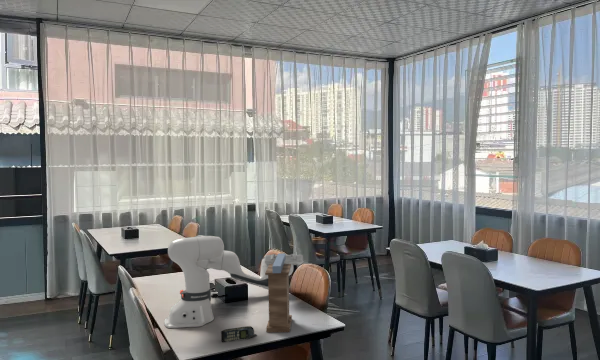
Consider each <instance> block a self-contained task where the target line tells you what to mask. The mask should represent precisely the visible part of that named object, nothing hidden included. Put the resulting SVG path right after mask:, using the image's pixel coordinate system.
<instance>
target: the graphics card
mask: <svg viewBox="0 0 600 360" xmlns="http://www.w3.org/2000/svg"><path fill="white" fill-rule="evenodd" d="M209 281H210V289H211V299H214V298H218V297H217V296H218V295H217V294H218V292H217V291H215V284H214V282H215V281H214V280H209Z"/></svg>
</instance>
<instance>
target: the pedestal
mask: <svg viewBox="0 0 600 360" xmlns="http://www.w3.org/2000/svg"><path fill="white" fill-rule="evenodd" d="M272 266H273V264H269V266H268V268H267V270H266V272H265V275H268V321H267V325H266V328H265V330H266V333H290V331H291V327H292V321H293V315H292V314H290V281H289V280H290V278H289V277H290V275H289V271H290V268H291V264H284V265H283V268H282V271H281V273H273V270H272Z"/></svg>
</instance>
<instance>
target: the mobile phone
mask: <svg viewBox="0 0 600 360" xmlns="http://www.w3.org/2000/svg"><path fill="white" fill-rule="evenodd" d="M220 337H221V339H220V340H221V342H222V343H228V342H235V341H243V340H247V339H251V338H253V337H257V334H255V329H254V328H253V326H250V325H249V326H239V327H232V328H227V329H223V330H221V331H220Z"/></svg>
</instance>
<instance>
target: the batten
mask: <svg viewBox="0 0 600 360" xmlns="http://www.w3.org/2000/svg"><path fill="white" fill-rule="evenodd" d="M285 254H286V253H277V254H276V255H277V257H276V259H275V262H274V264H273V266H272V270H273V273H281V271H282V268H283V265H284V263H285V260H286V257H285Z"/></svg>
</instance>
